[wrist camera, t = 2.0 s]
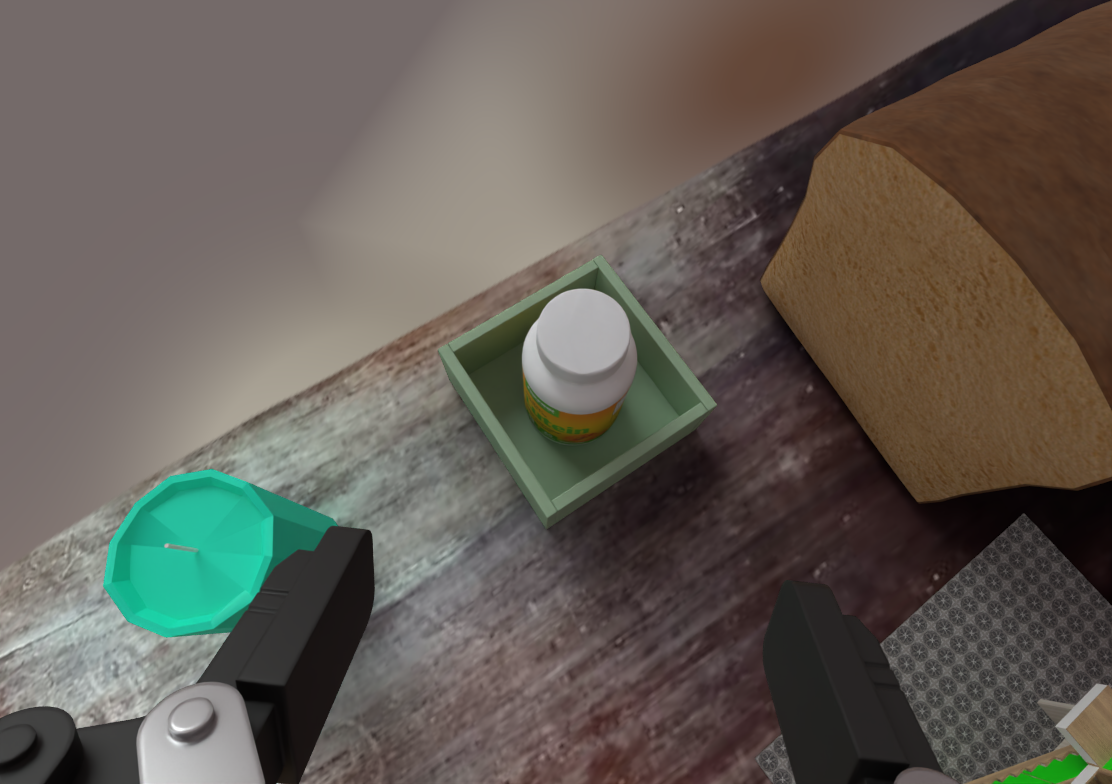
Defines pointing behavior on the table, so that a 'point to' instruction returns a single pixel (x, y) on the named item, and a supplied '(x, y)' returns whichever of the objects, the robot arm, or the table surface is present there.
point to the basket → (583, 470)
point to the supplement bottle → (578, 366)
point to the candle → (203, 551)
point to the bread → (970, 270)
